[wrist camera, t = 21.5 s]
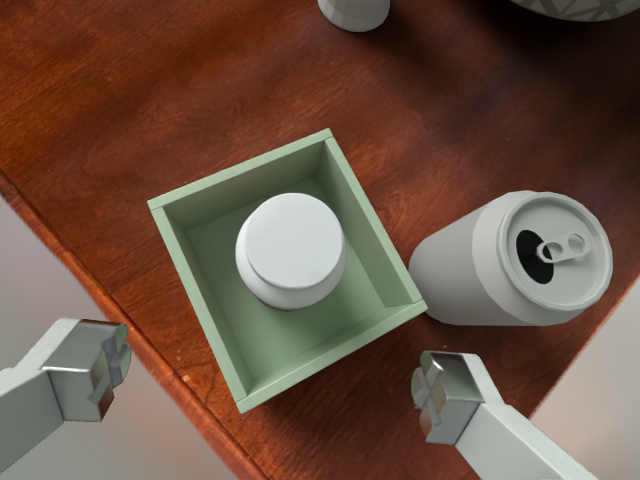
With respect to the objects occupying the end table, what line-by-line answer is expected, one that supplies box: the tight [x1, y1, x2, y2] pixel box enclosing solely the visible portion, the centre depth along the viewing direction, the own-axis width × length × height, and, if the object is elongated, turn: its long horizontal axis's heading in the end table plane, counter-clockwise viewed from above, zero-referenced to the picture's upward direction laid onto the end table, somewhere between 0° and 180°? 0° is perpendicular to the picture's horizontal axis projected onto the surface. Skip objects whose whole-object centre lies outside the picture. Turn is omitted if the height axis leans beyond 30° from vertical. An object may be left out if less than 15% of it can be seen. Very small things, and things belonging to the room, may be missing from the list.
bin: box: [147, 128, 428, 414], centre depth 25 cm, size 13×12×7 cm
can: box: [408, 190, 613, 326], centre depth 23 cm, size 8×8×12 cm
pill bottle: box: [236, 193, 347, 311], centre depth 22 cm, size 6×6×11 cm
